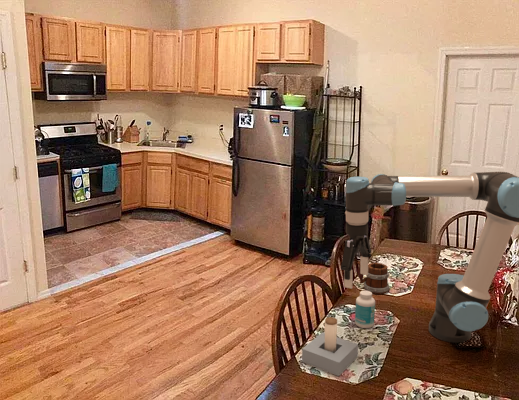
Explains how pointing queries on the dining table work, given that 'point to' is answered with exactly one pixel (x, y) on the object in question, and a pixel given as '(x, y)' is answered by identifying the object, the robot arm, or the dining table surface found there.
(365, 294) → the pill bottle
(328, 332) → the peg
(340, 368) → the socket
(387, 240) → the dining table surface
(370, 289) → the mug
